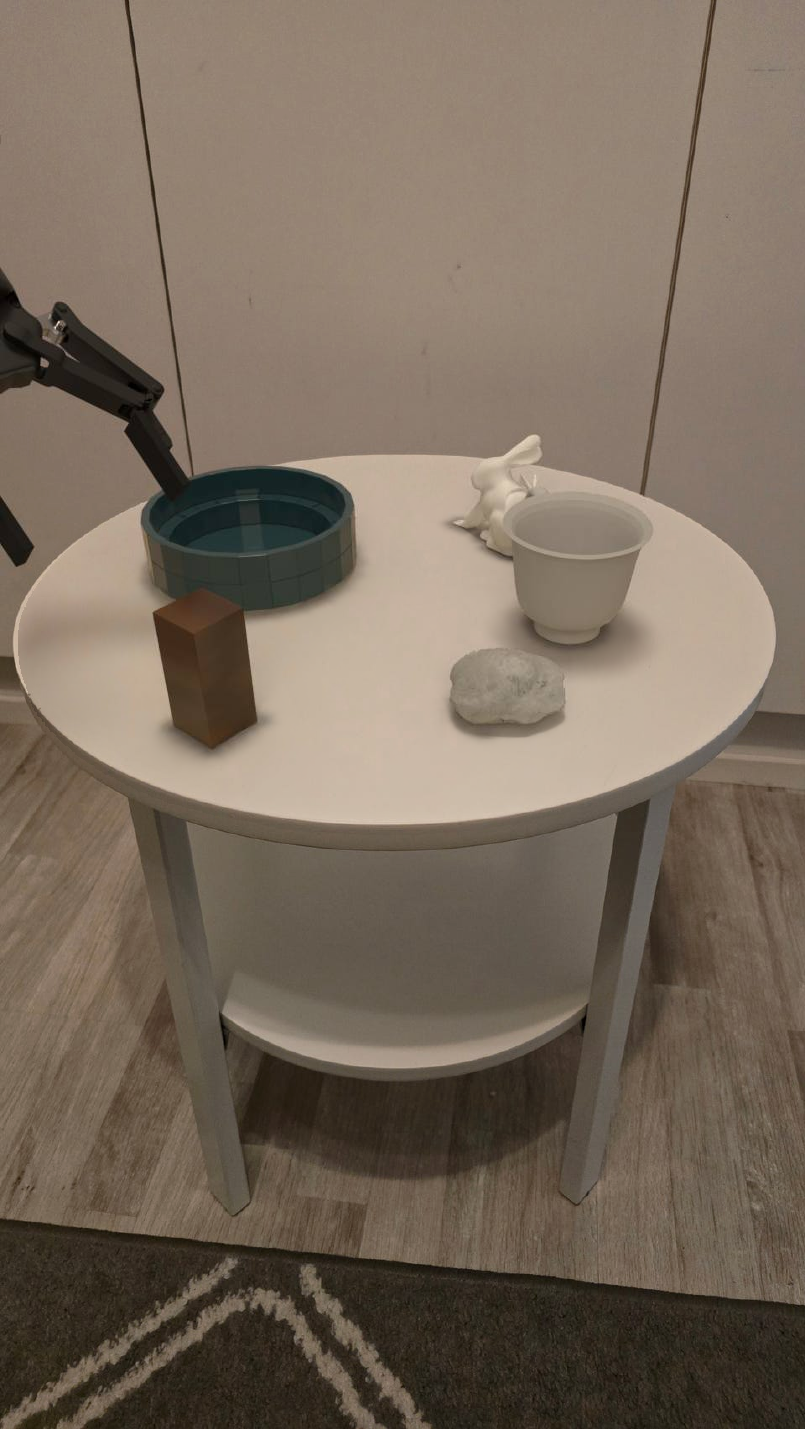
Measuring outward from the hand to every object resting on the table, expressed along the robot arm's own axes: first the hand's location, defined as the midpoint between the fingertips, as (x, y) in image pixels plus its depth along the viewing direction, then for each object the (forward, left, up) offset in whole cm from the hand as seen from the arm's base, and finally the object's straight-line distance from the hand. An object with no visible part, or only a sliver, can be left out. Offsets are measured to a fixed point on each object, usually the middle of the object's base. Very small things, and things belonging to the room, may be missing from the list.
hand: (107, 523), depth 72 cm
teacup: (+36, +3, -14) cm, 39 cm away
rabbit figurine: (+36, +19, -14) cm, 43 cm away
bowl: (+10, +18, -14) cm, 24 cm away
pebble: (+28, -9, -14) cm, 33 cm away
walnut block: (+6, -7, -14) cm, 17 cm away
